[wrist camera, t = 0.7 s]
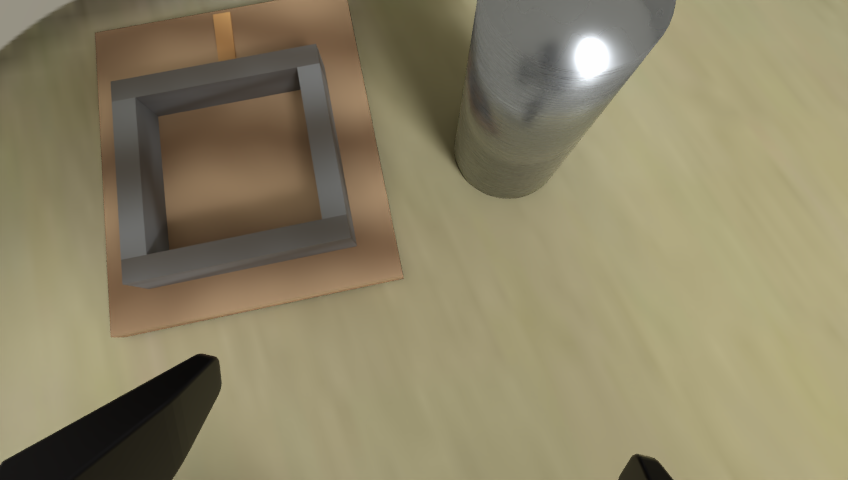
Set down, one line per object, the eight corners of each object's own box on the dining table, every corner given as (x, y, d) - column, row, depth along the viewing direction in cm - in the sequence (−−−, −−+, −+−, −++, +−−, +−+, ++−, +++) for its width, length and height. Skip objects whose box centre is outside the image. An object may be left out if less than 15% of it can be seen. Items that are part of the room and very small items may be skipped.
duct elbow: (548, 209, 24) (667, 86, 12) (444, 185, 25) (462, 43, 13) (576, 56, 26) (701, -175, 14) (480, 36, 27) (525, -206, 15)
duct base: (403, 278, 23) (400, 270, 20) (124, 337, 23) (80, 337, 20) (347, 0, 27) (338, -40, 24) (107, 43, 27) (67, 7, 24)
